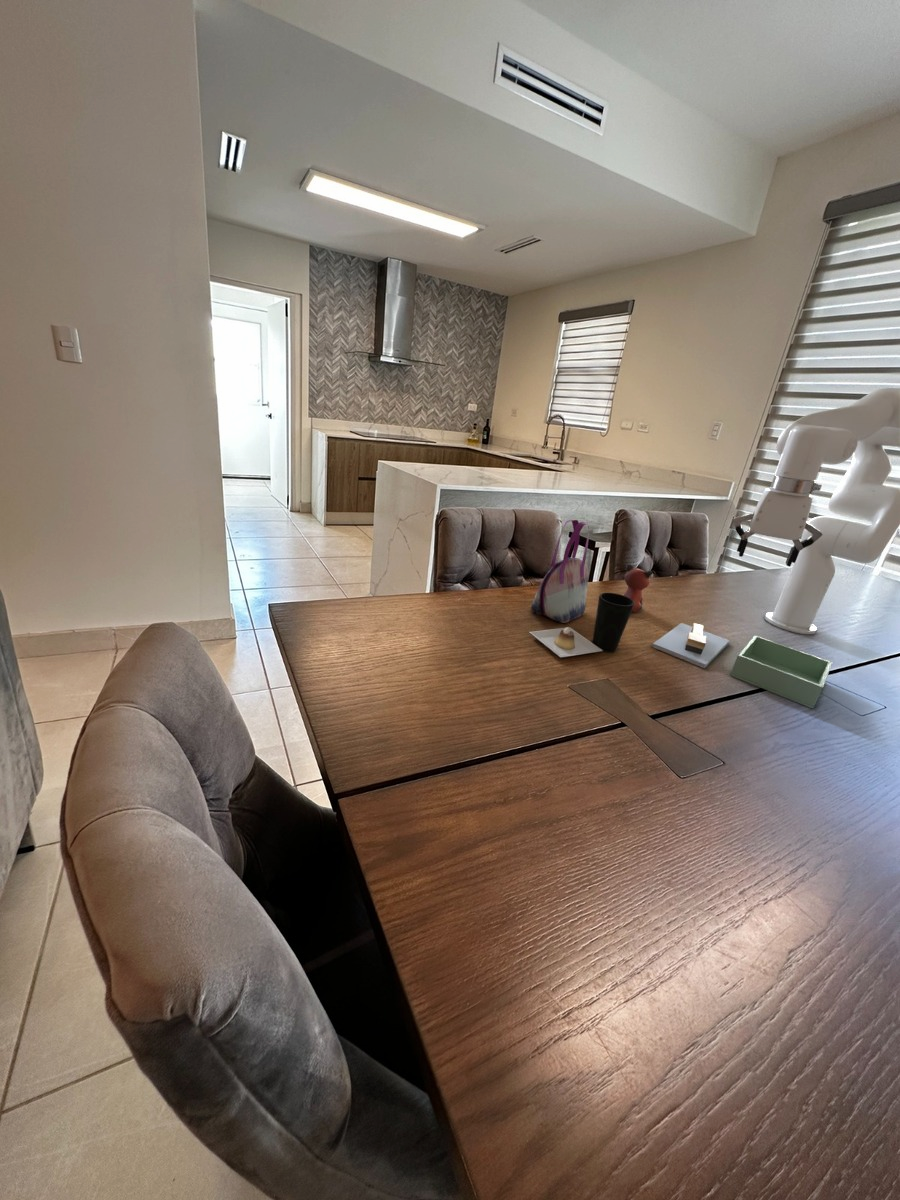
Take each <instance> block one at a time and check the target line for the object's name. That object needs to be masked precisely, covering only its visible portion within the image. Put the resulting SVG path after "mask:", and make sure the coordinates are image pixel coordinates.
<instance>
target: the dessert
mask: <svg viewBox="0 0 900 1200" xmlns="http://www.w3.org/2000/svg"><path fill="white" fill-rule="evenodd" d="M529 634H531V635H532V636H533V637H534V638H535V639H537V640H538V641H539V642H540V643H542V644H543V645H544V646H545V647H546V648H548V649H549V650H550V651H551V652H553V653H554V654H555V655H557V656H558V657H559V658H568V657H574V656H580V655H586V654H592V653H599V652H604V651H603V650H602V649H600V648H599V647H597V646H596V645H594V644H593V643H592V642H591V641H590V640H589V639H587V638H586V637H585V636H583V635H582V634H580V633H579V632H578V631H576V630H574V629H573V628H572V627H570V626H569V627H568V626H565V627H559V628H558V627H557V628H552V629H543V630H536V631H529Z"/></svg>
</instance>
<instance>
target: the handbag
mask: <svg viewBox="0 0 900 1200" xmlns="http://www.w3.org/2000/svg"><path fill="white" fill-rule="evenodd" d="M570 522H571V523H572V528H573V531H572V533H571V535H570V537H569V540H568V542H567V544H566V546H565V549H564V553H563V558H562V560H560V561H558V562H556V560H557V555H558V550H559V547H560V543H561V537H562V534H563V531H561V532H560V534H559V537H558V540H557V543H556V545H555V549H554V552H553V556H552V559H551V564H550V568H549V570H548V571H547V573H545V576H544V577H543V579H542V581H541V582H540V584H539V587H538V589H537V591H536V593H535V596H534V598H533V601H532V603H531V611H532V612H533V613H536V616H537V617H539V615H542V616H545V617H547V618H549V619H551V620H554V621H555V622H558V623H562V624H564V623H569V622H571V621H573V620H575V619H578V618H580V617H582V616H583V615H584V613H585V611H586V605H587V596H588V595H587V594H588V583H589V569H588V564H587V563H586V559H587V555H588V554H587V553H588V547H589V538H590V532H588V534H587V538H586V542H585V547H584V551H583V557H582V559H580V558H578V557H577V552H578V548H579V545H580V538H581V537H580V535H581V531H582V529H583V528H584V527H585V526H587V527H588V528H590V526H589V525H588V523H587V522H585V521H580V522H579V520H578V519H571V520H570V519H569V520H567V521H566V522H565V523H564V525H563V527H562V529H564V528H565V527H566V526H567V524H569V523H570ZM573 544H574V545H573ZM572 546H573V550H572V557H569V553H570V551H571V548H572Z"/></svg>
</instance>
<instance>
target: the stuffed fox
mask: <svg viewBox="0 0 900 1200" xmlns="http://www.w3.org/2000/svg"><path fill="white" fill-rule="evenodd" d="M625 566H626V567H625V569H626V573H625V574H624V582H625V584H626V586H627V589H626V591H625V593H624V594H623V596H626V597H628V598H630V599H632V600H633V601H634V603H635V604H634V607H633V609H632V612H631V613H638V612H640V611H641V610H642V609H643V599H644V598H643V590H645V589H646V588H648V587H649V585H650V583H651V582H650V581H651V580H650V577H651V576H652V574H653V573H654V572H653V571H652V570H643V569H640V568H636V567H634V566H633V565H632V564H631V563H627V564H626V565H625Z"/></svg>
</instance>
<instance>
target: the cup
mask: <svg viewBox="0 0 900 1200" xmlns="http://www.w3.org/2000/svg"><path fill="white" fill-rule="evenodd" d="M634 604H635V603H634V601H633V600H632V599H630V598H628V597H626V596H624V594H620V593H615V592H602V593H600V594H599V596H598V602H597V609H596V616H595V621H594V628H593V633H592V634H593V635H592V643H593V644H594V645H596V646H597V647H599V648H600V649H602V650H603V651H602V652H607V653H614V652H616V651H617V649H618V647H619V644H620V642H621V639H622V636H623V634H624V633H625V629H626V627H627V624H628V622H629V619H630V617H631V614H632V613H633V612H632V609H633V607H634Z"/></svg>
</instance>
